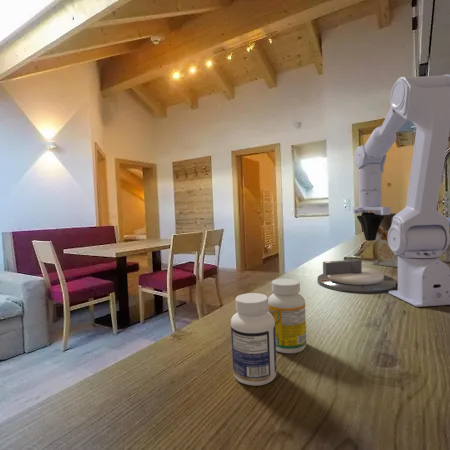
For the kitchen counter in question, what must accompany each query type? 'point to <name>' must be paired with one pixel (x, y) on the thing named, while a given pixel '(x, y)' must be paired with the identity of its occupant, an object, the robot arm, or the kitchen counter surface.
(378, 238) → the coffee box
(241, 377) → the pill bottle
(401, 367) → the kitchen counter surface
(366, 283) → the dial
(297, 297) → the supplement bottle
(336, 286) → the dial plate
